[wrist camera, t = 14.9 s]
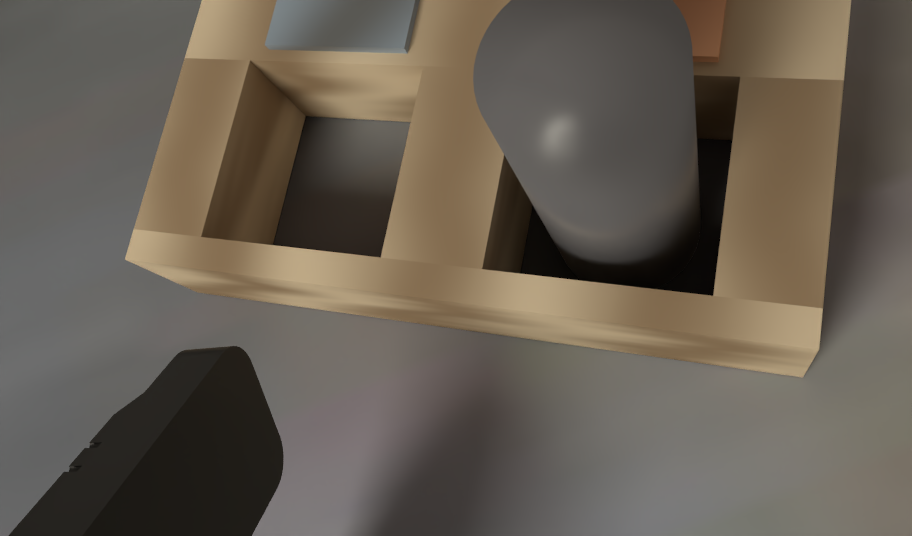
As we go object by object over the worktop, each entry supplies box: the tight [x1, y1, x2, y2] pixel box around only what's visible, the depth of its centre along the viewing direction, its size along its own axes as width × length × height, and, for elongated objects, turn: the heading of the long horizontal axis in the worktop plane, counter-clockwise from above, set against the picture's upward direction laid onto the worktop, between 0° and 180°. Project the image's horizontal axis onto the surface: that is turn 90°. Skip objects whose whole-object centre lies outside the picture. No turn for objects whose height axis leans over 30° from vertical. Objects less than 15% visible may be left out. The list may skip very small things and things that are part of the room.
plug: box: [473, 0, 701, 289], centre depth 21 cm, size 4×4×10 cm
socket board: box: [125, 0, 851, 377], centre depth 26 cm, size 20×10×4 cm, turn 79°
